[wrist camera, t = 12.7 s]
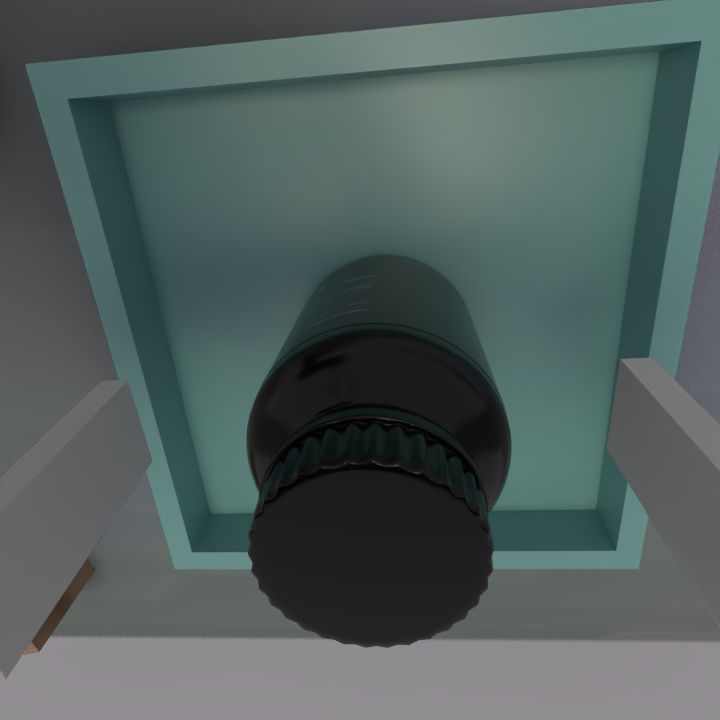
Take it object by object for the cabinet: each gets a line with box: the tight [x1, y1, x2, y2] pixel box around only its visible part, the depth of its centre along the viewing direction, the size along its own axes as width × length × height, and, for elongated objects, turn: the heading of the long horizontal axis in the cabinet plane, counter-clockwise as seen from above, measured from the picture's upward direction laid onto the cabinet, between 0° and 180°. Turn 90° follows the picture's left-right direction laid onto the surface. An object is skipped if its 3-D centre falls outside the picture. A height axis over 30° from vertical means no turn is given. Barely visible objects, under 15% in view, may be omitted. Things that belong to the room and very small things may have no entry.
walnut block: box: [23, 559, 95, 655], centre depth 27 cm, size 5×5×5 cm
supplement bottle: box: [246, 256, 512, 648], centre depth 15 cm, size 7×7×12 cm
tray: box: [25, 0, 720, 569], centre depth 20 cm, size 20×20×4 cm
